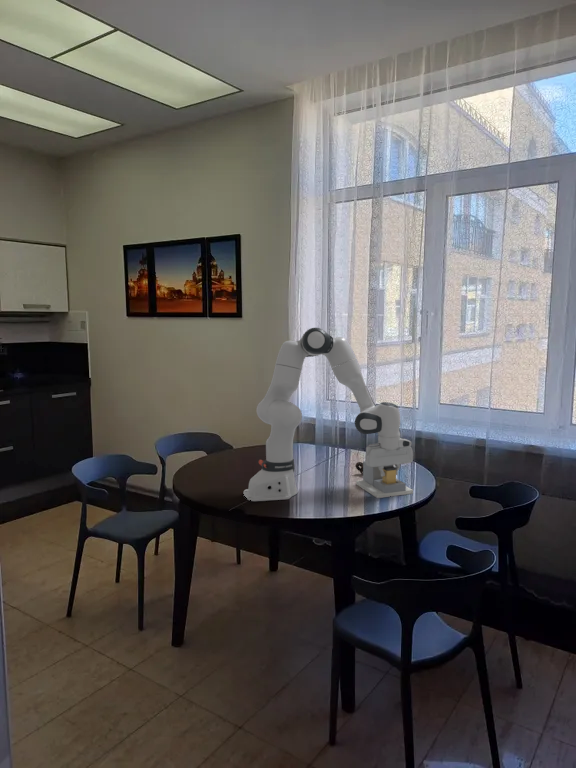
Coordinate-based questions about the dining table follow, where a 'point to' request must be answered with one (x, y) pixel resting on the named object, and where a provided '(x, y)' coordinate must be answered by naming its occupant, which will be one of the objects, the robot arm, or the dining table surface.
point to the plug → (389, 475)
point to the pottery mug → (359, 467)
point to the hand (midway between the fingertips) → (389, 475)
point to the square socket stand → (381, 484)
